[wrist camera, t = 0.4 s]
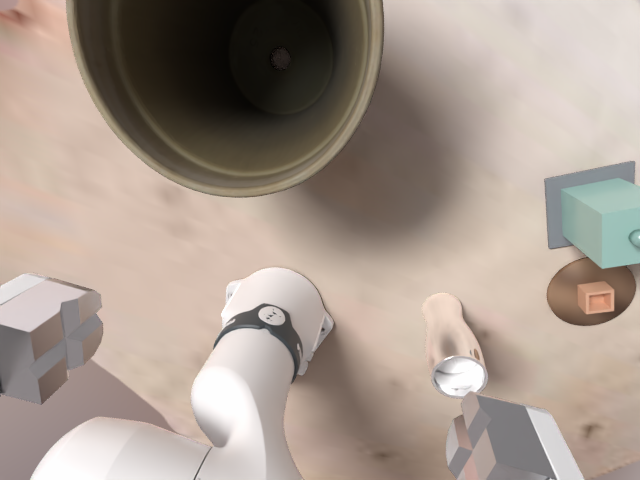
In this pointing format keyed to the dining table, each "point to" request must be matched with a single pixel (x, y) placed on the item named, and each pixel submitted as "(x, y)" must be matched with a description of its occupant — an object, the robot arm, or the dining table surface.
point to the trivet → (582, 272)
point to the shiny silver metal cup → (452, 348)
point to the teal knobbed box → (603, 221)
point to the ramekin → (596, 297)
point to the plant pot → (230, 84)
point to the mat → (571, 180)
